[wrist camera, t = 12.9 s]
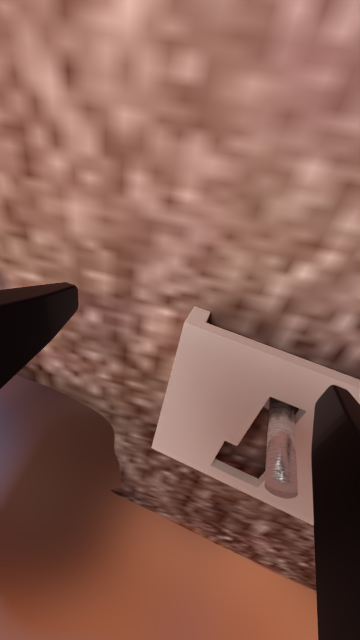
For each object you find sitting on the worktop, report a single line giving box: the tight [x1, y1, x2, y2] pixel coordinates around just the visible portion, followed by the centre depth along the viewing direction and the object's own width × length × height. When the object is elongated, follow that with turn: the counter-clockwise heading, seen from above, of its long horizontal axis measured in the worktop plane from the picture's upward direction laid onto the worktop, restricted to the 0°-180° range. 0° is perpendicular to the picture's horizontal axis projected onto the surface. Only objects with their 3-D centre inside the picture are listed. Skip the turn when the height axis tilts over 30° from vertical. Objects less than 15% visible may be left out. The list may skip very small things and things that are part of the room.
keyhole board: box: [152, 306, 360, 525], centre depth 25 cm, size 20×20×3 cm
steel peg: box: [264, 397, 300, 499], centre depth 20 cm, size 4×4×9 cm
